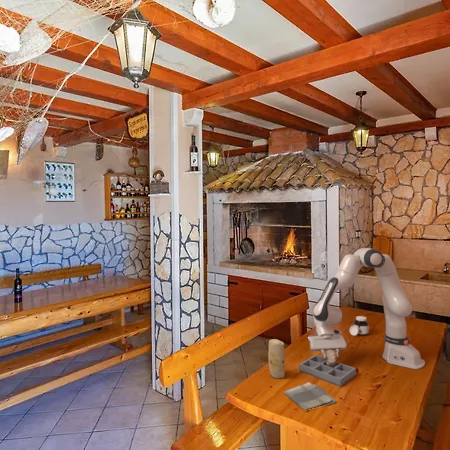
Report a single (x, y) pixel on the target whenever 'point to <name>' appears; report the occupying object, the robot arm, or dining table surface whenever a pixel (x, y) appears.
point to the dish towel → (309, 396)
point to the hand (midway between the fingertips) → (331, 357)
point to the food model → (276, 358)
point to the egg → (330, 358)
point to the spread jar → (359, 326)
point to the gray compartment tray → (327, 370)
